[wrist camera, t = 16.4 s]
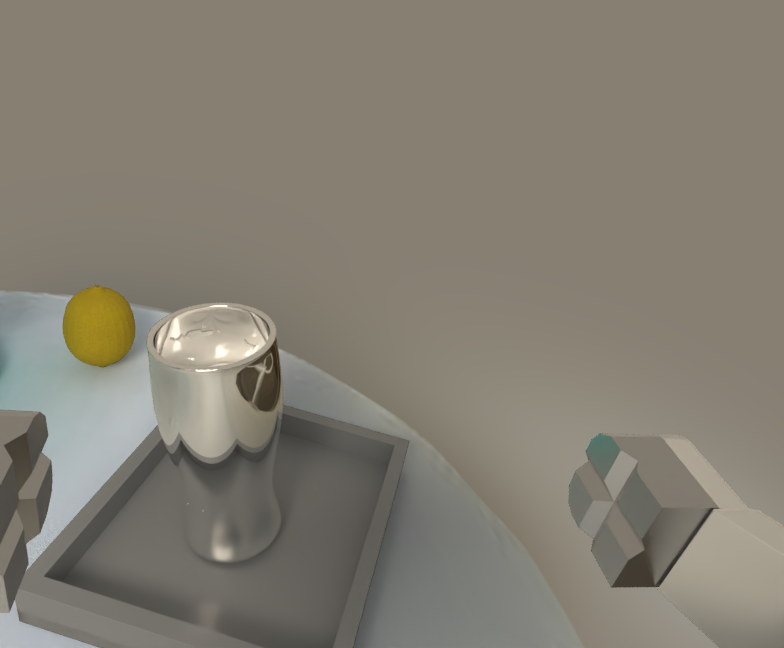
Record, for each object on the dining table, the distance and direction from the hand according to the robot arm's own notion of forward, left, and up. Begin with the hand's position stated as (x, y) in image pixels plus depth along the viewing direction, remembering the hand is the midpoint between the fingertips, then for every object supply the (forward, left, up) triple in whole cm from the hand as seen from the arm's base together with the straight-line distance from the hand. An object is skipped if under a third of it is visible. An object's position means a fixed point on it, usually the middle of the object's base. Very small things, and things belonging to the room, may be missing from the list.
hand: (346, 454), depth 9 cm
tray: (-8, +20, -27) cm, 35 cm away
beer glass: (-9, +19, -26) cm, 34 cm away
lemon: (-27, +32, -28) cm, 50 cm away
